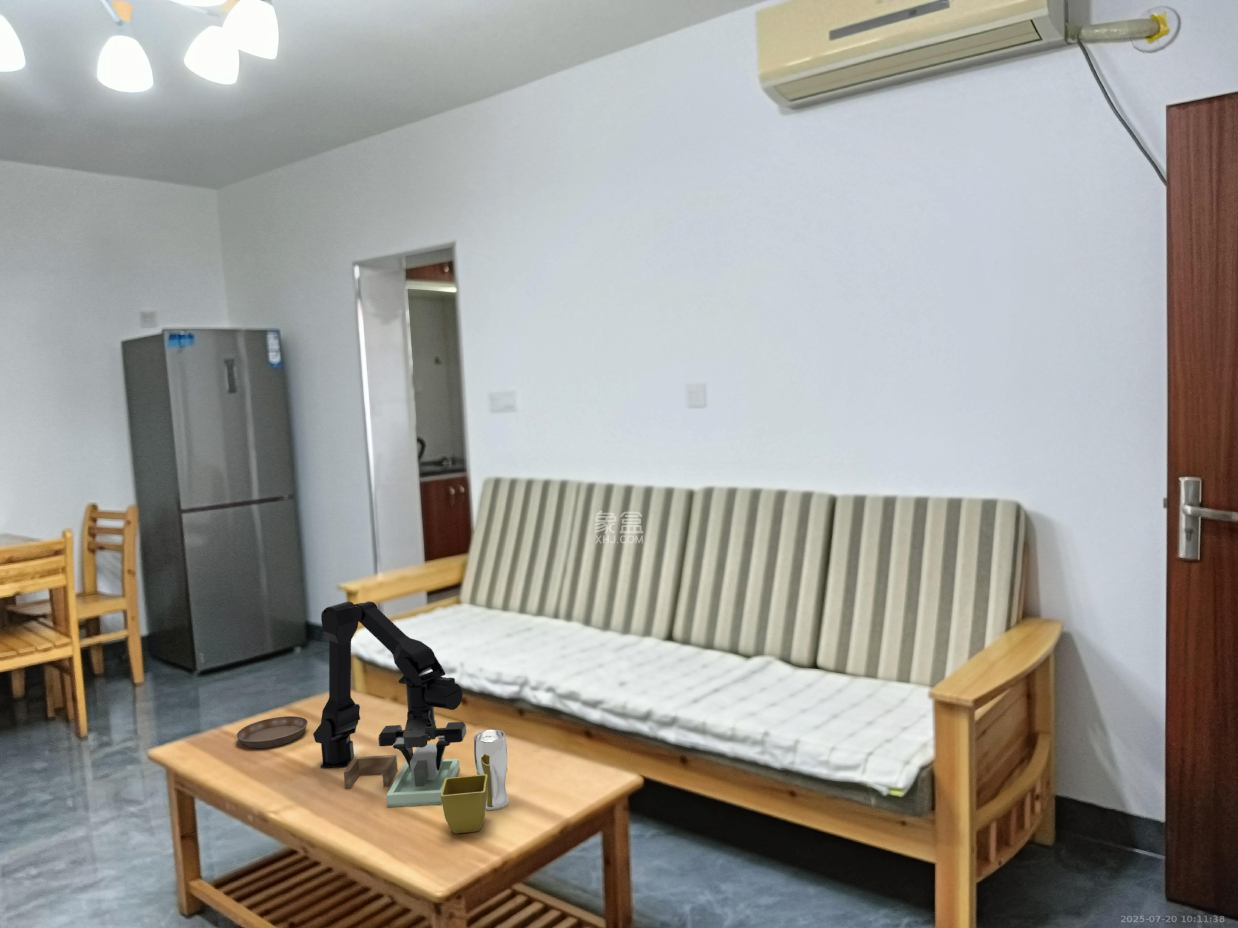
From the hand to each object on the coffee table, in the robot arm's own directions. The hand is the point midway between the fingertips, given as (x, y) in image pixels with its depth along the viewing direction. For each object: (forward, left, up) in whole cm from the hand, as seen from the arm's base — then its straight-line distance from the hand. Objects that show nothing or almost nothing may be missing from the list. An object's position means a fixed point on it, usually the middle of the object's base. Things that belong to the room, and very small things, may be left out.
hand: (425, 770), depth 206 cm
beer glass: (+17, -12, -3) cm, 21 cm away
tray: (0, -2, -3) cm, 4 cm away
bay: (-13, +4, -3) cm, 14 cm away
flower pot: (+13, -22, -3) cm, 26 cm away
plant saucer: (-48, +34, -4) cm, 59 cm away
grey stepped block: (0, 0, -1) cm, 1 cm away
